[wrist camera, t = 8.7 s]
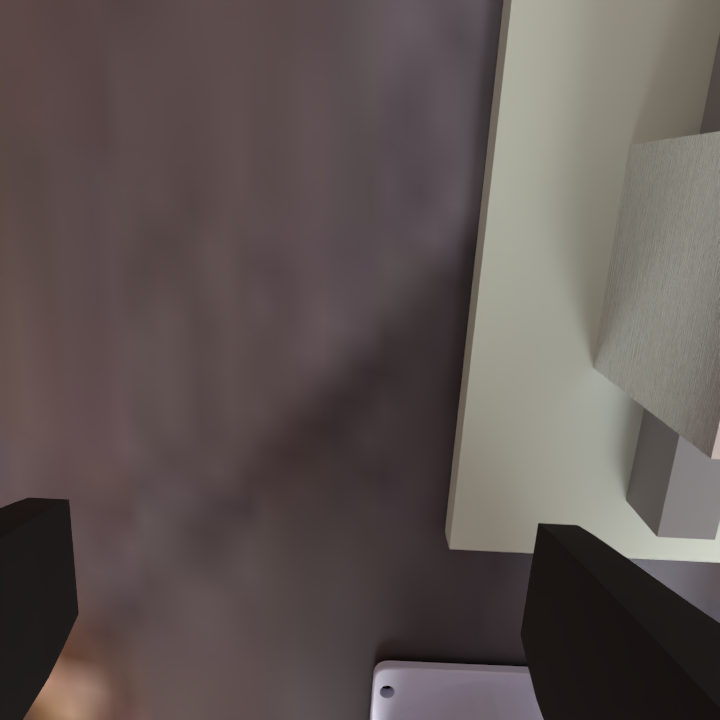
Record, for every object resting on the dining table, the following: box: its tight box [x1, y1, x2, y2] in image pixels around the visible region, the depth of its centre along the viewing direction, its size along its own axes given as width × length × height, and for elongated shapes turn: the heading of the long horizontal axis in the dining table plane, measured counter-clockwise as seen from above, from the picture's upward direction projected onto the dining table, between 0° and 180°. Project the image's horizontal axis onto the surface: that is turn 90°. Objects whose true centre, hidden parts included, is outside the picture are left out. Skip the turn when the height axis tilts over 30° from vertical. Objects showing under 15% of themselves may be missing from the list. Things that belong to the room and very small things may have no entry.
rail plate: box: [445, 0, 720, 562], centre depth 16 cm, size 20×12×3 cm, turn 177°
